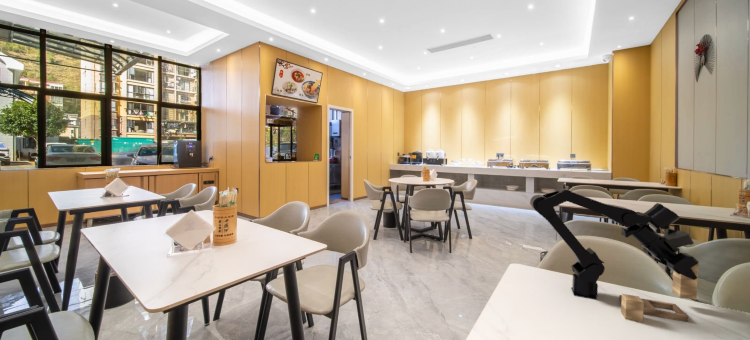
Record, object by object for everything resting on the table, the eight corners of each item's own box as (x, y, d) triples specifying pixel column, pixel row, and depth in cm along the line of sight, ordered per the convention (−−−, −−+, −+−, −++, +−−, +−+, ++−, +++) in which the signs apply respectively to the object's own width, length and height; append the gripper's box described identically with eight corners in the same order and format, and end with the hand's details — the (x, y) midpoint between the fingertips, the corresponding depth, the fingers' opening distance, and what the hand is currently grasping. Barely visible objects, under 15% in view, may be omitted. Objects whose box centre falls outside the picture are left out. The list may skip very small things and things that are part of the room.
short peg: (625, 319, 88) (626, 299, 87) (621, 312, 91) (621, 293, 91) (642, 322, 86) (643, 302, 86) (637, 315, 90) (638, 296, 89)
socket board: (627, 310, 92) (627, 305, 92) (619, 299, 99) (619, 294, 99) (688, 321, 86) (688, 316, 86) (675, 308, 93) (675, 303, 93)
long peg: (679, 297, 93) (681, 260, 93) (672, 292, 97) (674, 256, 96) (696, 299, 92) (698, 261, 91) (688, 294, 96) (690, 257, 95)
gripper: (691, 229, 86) (740, 272, 83) (655, 216, 103) (695, 251, 100) (655, 253, 89) (701, 294, 86) (627, 237, 107) (664, 271, 103)
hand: (690, 276), depth 94 cm, fingers closed on long peg, 4 cm apart
